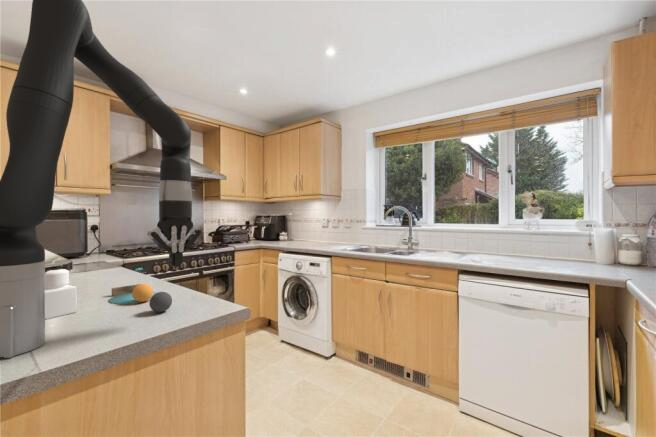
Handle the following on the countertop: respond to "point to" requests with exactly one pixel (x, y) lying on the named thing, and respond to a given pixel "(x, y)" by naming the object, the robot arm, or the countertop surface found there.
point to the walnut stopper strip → (123, 290)
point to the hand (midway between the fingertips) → (175, 266)
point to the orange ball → (142, 292)
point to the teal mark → (125, 299)
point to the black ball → (160, 302)
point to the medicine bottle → (59, 294)
